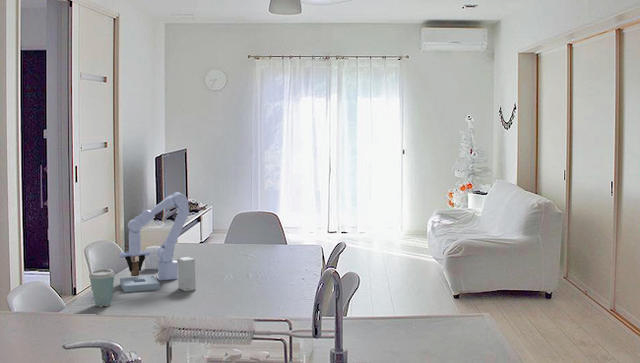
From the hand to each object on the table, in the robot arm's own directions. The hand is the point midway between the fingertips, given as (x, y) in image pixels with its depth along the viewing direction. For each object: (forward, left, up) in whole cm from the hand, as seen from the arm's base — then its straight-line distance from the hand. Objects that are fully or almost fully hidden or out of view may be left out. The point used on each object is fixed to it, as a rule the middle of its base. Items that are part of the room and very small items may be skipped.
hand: (135, 270), depth 336 cm
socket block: (0, +13, -5) cm, 14 cm away
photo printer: (-14, -24, -5) cm, 28 cm away
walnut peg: (0, 0, -2) cm, 2 cm away
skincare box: (-20, +25, -5) cm, 32 cm away
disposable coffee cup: (+20, +40, -5) cm, 45 cm away
